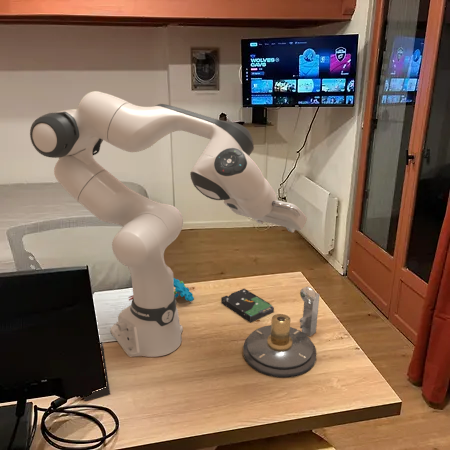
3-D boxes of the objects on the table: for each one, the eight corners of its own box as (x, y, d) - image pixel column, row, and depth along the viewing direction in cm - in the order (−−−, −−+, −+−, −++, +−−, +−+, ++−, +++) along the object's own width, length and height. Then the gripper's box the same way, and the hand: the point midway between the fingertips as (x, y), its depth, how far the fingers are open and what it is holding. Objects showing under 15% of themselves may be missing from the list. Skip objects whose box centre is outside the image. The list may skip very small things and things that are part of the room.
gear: (195, 303, 146) (172, 283, 144) (182, 315, 147) (160, 295, 144) (195, 290, 157) (174, 271, 154) (183, 302, 157) (162, 283, 155)
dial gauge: (293, 335, 133) (296, 287, 127) (305, 327, 137) (309, 280, 131) (306, 342, 130) (310, 293, 124) (318, 333, 134) (323, 286, 128)
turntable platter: (233, 347, 124) (233, 343, 124) (274, 321, 136) (274, 317, 136) (285, 379, 112) (285, 374, 112) (325, 348, 124) (326, 343, 124)
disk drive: (220, 305, 149) (250, 324, 139) (220, 297, 148) (250, 316, 138) (243, 295, 155) (274, 312, 145) (244, 287, 154) (274, 305, 144)
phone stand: (80, 378, 115) (74, 338, 110) (104, 372, 117) (99, 333, 113) (84, 402, 107) (79, 360, 103) (110, 395, 109) (105, 354, 105)
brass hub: (262, 342, 124) (263, 317, 121) (279, 333, 128) (280, 309, 125) (280, 355, 119) (281, 329, 116) (297, 344, 123) (299, 319, 120)
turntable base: (228, 352, 125) (228, 348, 124) (274, 324, 138) (274, 319, 137) (285, 389, 112) (286, 383, 111) (330, 353, 125) (330, 348, 124)
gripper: (300, 195, 102) (317, 223, 113) (229, 180, 114) (250, 207, 125) (289, 219, 101) (307, 245, 112) (218, 201, 112) (240, 226, 123)
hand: (276, 225), depth 118 cm, fingers open, 8 cm apart
